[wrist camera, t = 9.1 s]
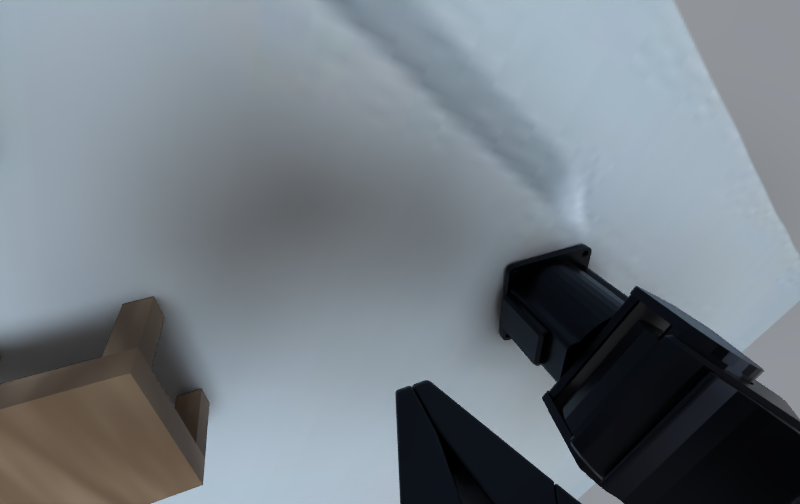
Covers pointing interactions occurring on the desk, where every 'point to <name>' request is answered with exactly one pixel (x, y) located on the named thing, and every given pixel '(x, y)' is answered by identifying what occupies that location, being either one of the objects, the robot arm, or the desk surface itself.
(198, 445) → the footstool
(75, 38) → the desk surface
